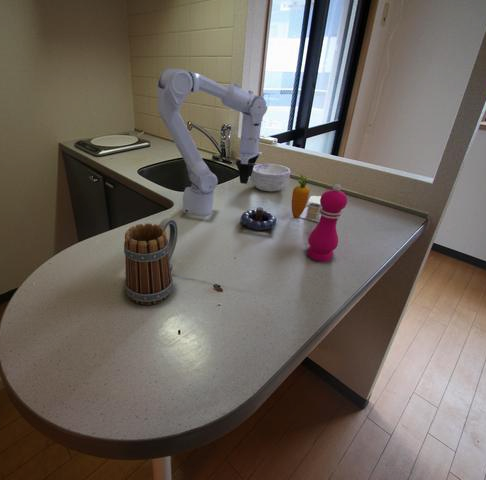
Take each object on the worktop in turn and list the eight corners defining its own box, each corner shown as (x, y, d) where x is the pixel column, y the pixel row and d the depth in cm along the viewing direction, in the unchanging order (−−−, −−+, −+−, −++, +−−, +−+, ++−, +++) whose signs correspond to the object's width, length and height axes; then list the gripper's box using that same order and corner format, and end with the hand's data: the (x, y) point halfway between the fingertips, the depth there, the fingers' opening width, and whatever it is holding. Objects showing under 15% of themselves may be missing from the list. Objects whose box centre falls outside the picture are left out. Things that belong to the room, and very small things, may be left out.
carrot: (304, 223, 100) (314, 178, 93) (288, 222, 101) (296, 177, 94) (302, 217, 105) (312, 173, 97) (287, 215, 106) (295, 172, 98)
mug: (153, 313, 65) (149, 251, 57) (115, 295, 70) (107, 236, 62) (193, 275, 76) (194, 219, 69) (158, 261, 81) (156, 208, 74)
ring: (237, 228, 94) (237, 220, 93) (244, 213, 103) (245, 206, 102) (273, 234, 91) (274, 226, 90) (277, 218, 100) (278, 211, 99)
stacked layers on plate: (323, 224, 101) (327, 208, 98) (296, 216, 105) (299, 200, 102) (333, 213, 107) (337, 198, 105) (307, 206, 112) (310, 192, 109)
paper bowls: (258, 178, 137) (261, 160, 133) (293, 186, 129) (296, 167, 125) (242, 188, 126) (244, 169, 122) (278, 198, 118) (281, 177, 114)
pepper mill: (333, 251, 87) (353, 181, 77) (334, 265, 81) (355, 191, 71) (305, 246, 89) (321, 177, 79) (304, 259, 83) (321, 187, 73)
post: (240, 232, 95) (242, 212, 92) (245, 219, 103) (247, 200, 99) (270, 237, 93) (273, 217, 90) (273, 223, 100) (276, 205, 97)
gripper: (259, 143, 91) (254, 188, 98) (266, 133, 103) (260, 174, 110) (235, 141, 93) (232, 185, 100) (244, 132, 105) (240, 171, 112)
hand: (245, 179), depth 105 cm, fingers open, 7 cm apart
